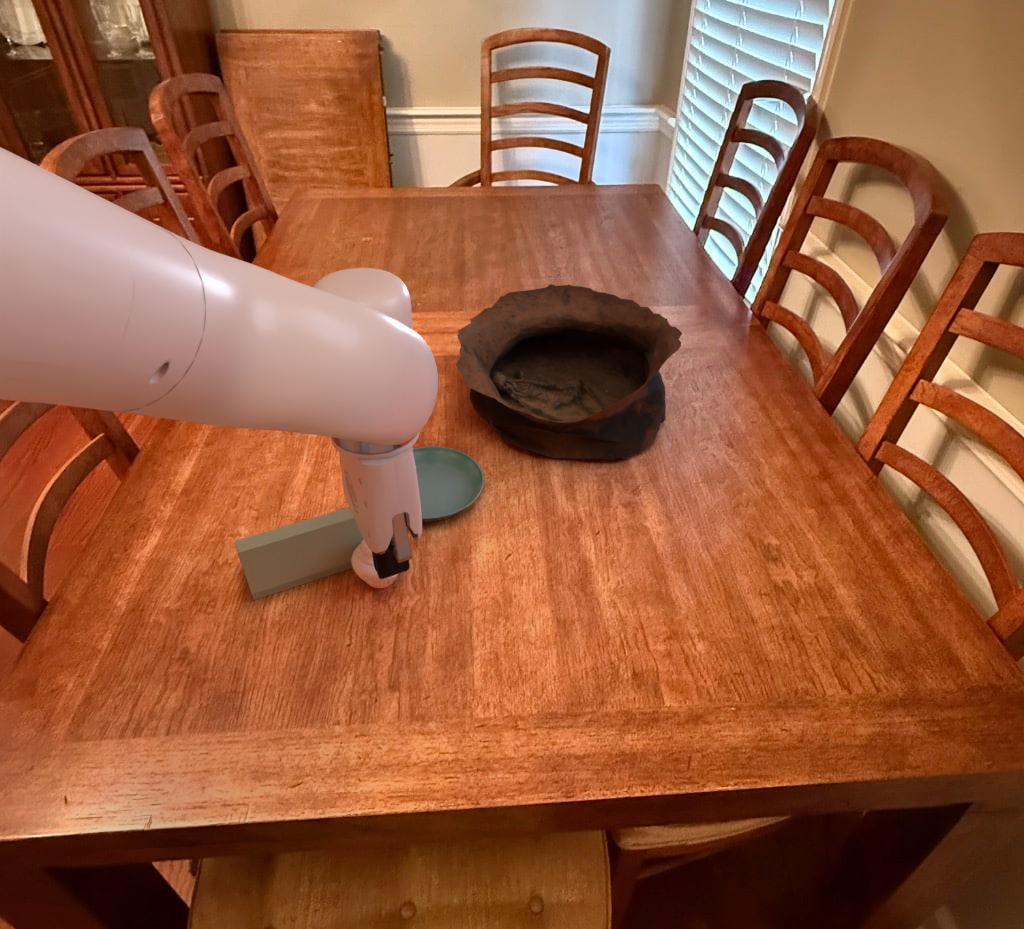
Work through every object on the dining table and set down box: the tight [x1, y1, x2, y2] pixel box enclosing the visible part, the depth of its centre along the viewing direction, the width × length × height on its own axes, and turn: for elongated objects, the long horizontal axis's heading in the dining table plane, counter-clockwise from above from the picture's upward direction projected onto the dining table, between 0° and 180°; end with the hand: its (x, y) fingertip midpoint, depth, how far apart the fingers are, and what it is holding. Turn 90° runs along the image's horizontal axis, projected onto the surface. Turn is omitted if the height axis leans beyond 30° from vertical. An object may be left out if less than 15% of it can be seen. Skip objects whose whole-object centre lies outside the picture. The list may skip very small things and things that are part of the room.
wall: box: [234, 506, 364, 601], centre depth 82 cm, size 18×5×8 cm, turn 116°
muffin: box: [351, 540, 399, 589], centre depth 81 cm, size 6×6×7 cm
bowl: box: [455, 283, 683, 461], centre depth 107 cm, size 34×33×15 cm
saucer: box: [413, 445, 485, 522], centre depth 94 cm, size 15×15×3 cm
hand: (392, 569), depth 70 cm, fingers closed
